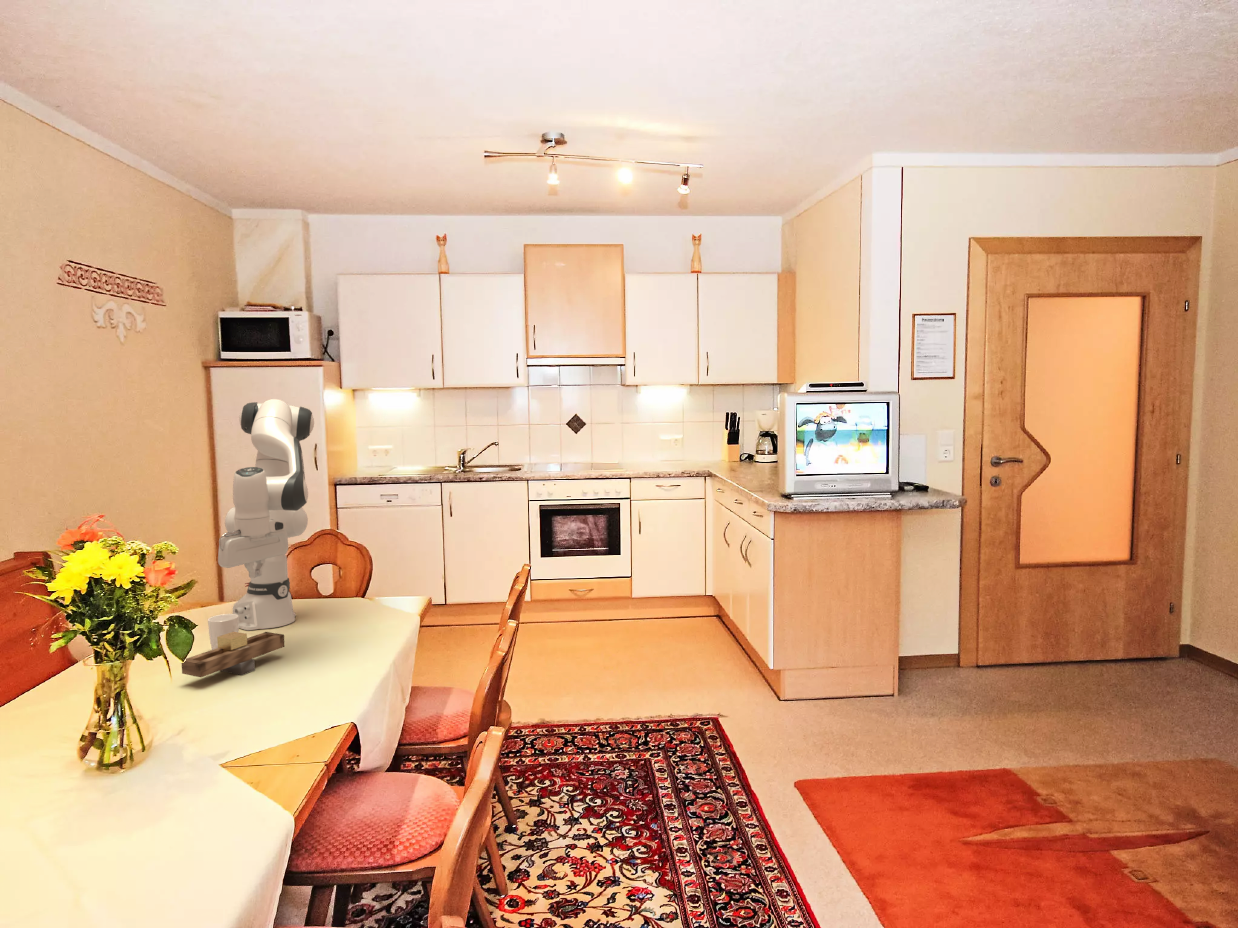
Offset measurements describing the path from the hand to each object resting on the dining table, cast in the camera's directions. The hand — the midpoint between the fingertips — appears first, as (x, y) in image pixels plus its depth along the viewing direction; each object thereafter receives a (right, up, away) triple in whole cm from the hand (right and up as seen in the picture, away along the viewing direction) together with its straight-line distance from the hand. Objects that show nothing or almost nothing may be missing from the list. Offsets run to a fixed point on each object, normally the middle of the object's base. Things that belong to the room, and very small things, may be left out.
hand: (255, 576), depth 210 cm
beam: (-3, -25, -5) cm, 25 cm away
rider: (-3, -20, -6) cm, 21 cm away
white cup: (-14, -24, +11) cm, 30 cm away
